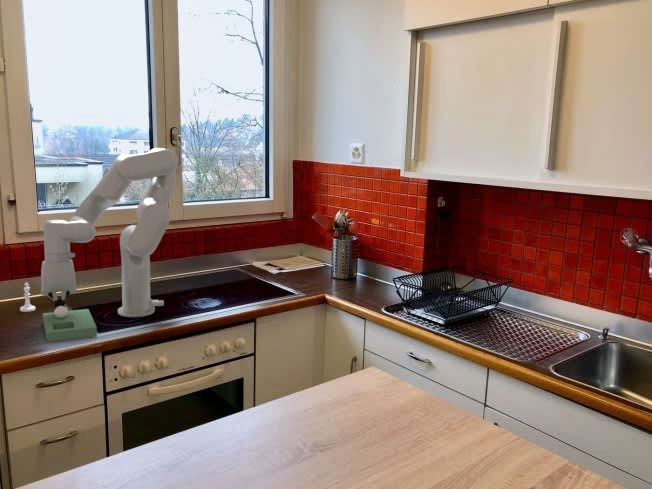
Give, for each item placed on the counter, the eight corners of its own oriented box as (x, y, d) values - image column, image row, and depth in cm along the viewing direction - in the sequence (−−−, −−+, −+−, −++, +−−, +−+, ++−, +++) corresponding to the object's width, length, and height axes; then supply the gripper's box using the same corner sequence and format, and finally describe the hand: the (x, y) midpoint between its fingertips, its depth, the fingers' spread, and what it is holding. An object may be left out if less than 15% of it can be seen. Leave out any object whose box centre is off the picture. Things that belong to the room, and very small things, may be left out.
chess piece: (28, 312, 192) (27, 284, 190) (16, 310, 193) (15, 283, 191) (38, 308, 197) (37, 281, 195) (26, 306, 198) (25, 280, 196)
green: (88, 317, 190) (88, 308, 190) (96, 336, 173) (96, 327, 173) (43, 321, 183) (42, 313, 183) (47, 342, 166) (46, 332, 166)
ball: (67, 315, 182) (67, 303, 181) (68, 319, 179) (68, 307, 178) (54, 316, 180) (53, 305, 179) (55, 320, 177) (54, 308, 176)
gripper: (80, 253, 188) (82, 305, 191) (31, 256, 180) (33, 309, 184) (83, 258, 181) (85, 311, 185) (32, 261, 174) (35, 316, 177)
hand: (59, 310), depth 184 cm, fingers closed
